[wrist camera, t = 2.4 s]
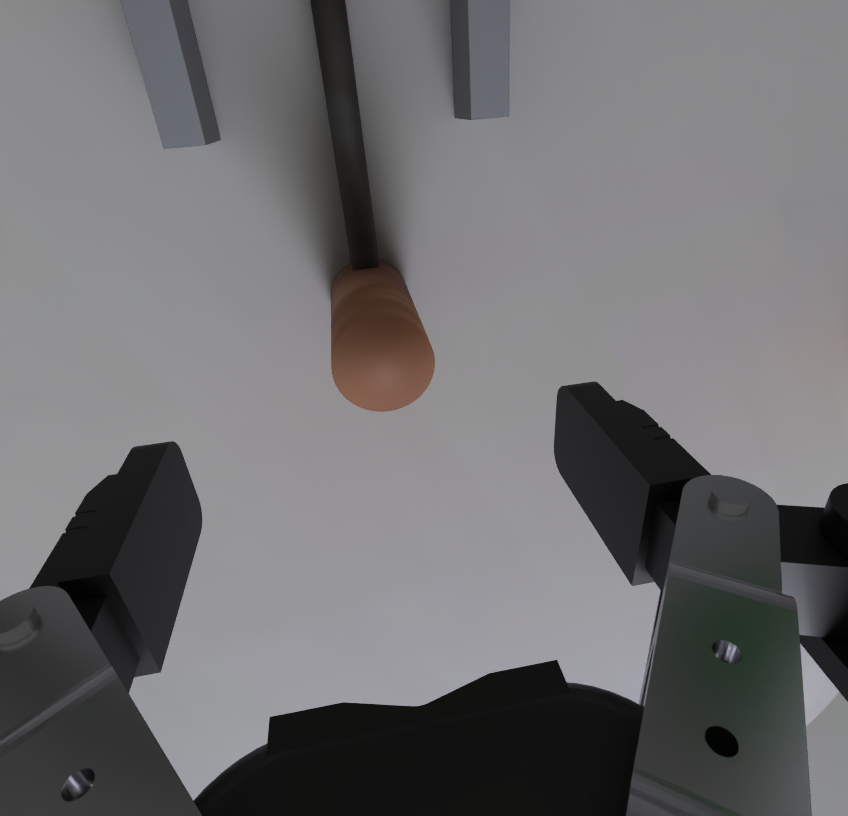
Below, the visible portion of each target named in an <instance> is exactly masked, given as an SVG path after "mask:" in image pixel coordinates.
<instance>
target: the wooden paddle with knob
mask: <svg viewBox="0 0 848 816" xmlns="http://www.w3.org/2000/svg"><path fill="white" fill-rule="evenodd" d="M310 1H311V7H312V13H313V20H314V26H315V33H316V39H317V46H318V52H319V58H320V65H321V71H322V78H323V84H324V91H325V97H326V103H327V110H328V116H329V123H330V129H331V136H332V142H333V148H334V155H335V161H336V168H337V174H338V181H339V187H340V193H341V200H342V206H343V213H344V219H345V226H346V232H347V238H348V245H349V251H350V258H351V263H350V264H348V265H347V266H345V267H344V268H343V269H342V270H341V271H340V272H339V273H338V275H337V276H336V278H335V280H334V282H333V285H332V290H331V367H332V375H333V379H334V382H335V384H336V386H337V388H338V389H339V391H340V392H341V393H342V395H343V396H344V397H345V398H346V399H347V400H349V401H350V402H352V403H353V404H355V405H357V406H358V407H361V408H364V409H367V410H371V411H391V410H396V409H399V408H402V407H404V406H407V405H409V404H410V403H412V402H413V401H415V400H416V399H417V398H419V397H420V396H421V395H422V394H423V392H424V391H425V390H426V389H427V387H428V385H429V384H430V381H431V379H432V376H433V373H434V367H435V359H434V353H433V350H432V347H431V344H430V342H429V339H428V337H427V335H426V332H425V330H424V327H423V325H422V323H421V320H420V318H419V315H418V313H417V310H416V308H415V306H414V303H413V301H412V298H411V296H410V294H409V291H408V289H407V286H406V284H405V282H404V280H403V278H402V276H401V274H400V273H399V272H398V271H397V270H396V269H395V268H394V267H393V266H391V265H390V264H388V263H386V262H384V261H382V260H379V259H378V251H377V243H376V236H375V228H374V220H373V213H372V205H371V197H370V189H369V182H368V174H367V166H366V158H365V151H364V143H363V135H362V127H361V120H360V112H359V104H358V96H357V89H356V81H355V73H354V66H353V58H352V50H351V42H350V35H349V27H348V19H347V11H346V4H345V0H310Z"/></svg>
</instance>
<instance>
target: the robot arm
mask: <svg viewBox="0 0 848 816" xmlns="http://www.w3.org/2000/svg"><path fill="white" fill-rule="evenodd" d="M554 454H555V460H556V464H557V467H558V470H559V472H560V474H561V476H562V477H563V479H564V481H565V482H566V484H567V485H568V487H569V488H570V490H571V491H572V493H573V495H574V496H575V498H576V499H577V501H578V502H579V504H580V506H581V507H582V509H583V510H584V512H585V513H586V515H587V516H588V518H589V520H590V521H591V523H592V524H593V526H594V527H595V529H596V530H597V532H598V534H599V535H600V537H601V538H602V540H603V541H604V543H605V545H606V546H607V548H608V549H609V551H610V552H611V554H612V555H613V557H614V559H615V560H616V562H617V563H618V565H619V566H620V568H621V570H622V571H623V573H624V574H625V576H626V577H627V579H628V580H629V582H630V584H631V585H632V586H634V585H640V584H645V583H650V582H655V583H656V584H657V586H658V587H659V589H660V590H661V591H660V596H659V601H658V606H657V611H656V616H655V621H654V627H653V632H652V637H651V642H650V648H649V653H648V658H647V664H646V669H645V674H644V679H643V684H642V689H641V694H640V699H639V704H637V703H635V702H633V701H631V700H629V699H627V698H625V697H623V696H620V695H618V694H615V693H613V692H610V691H607V690H604V689H600V688H597V687H593V686H588V685H583V684H577V683H566V681H565V678H564V676H563V673H562V671H561V669H560V666H559V664H558V661H557V660H554V661H549V662H544V663H539V664H534V665H529V666H524V667H519V668H514V669H509V670H504V671H499V672H494V673H489V674H487V675H485V676H483V677H481V678H479V679H477V680H475V681H473V682H471V683H469V684H467V685H465V686H463V687H461V688H458V689H456V690H454V691H452V692H450V693H448V694H446V695H444V696H442V697H440V698H438V699H436V700H434V701H432V702H430V703H428V704H425V705H422V706H395V705H377V704H360V703H339V704H334V705H329V706H324V707H319V708H314V709H309V710H304V711H299V712H294V713H289V714H284V715H278V716H273V717H270V721H269V732H268V744H266V745H263V746H261V747H259V748H257V749H256V750H254V751H252V752H251V753H249V754H247V755H246V756H244V757H243V758H241V759H239V760H238V761H237V762H235V763H234V764H233V765H231V766H230V767H229V768H227V769H226V770H225V771H224V772H222V773H221V774H220V775H219V776H218V777H217V778H216V779H215V780H213V781H212V782H211V783H210V784H209V785H208V786H207V787H206V788H205V789H204V790H203V791H202V792H201V793H200V794H199V795H198V797H197V798H196V799H195V800H194V801H193V800H192V798H191V796H190V795H189V793H188V791H187V790H186V788H185V786H184V785H183V783H182V781H181V780H180V778H179V776H178V775H177V773H176V771H175V770H174V768H173V766H172V765H171V763H170V762H169V760H168V758H167V757H166V755H165V753H164V752H163V750H162V748H161V747H160V745H159V743H158V742H157V740H156V738H155V737H154V735H153V733H152V732H151V730H150V728H149V727H148V725H147V723H146V722H145V720H144V718H143V717H142V715H141V713H140V712H139V710H138V708H137V707H136V705H135V703H134V702H133V700H132V699H131V697H130V695H129V691H130V688H131V685H132V681H133V678H134V677H138V676H143V675H148V674H154V673H159V672H161V669H162V665H163V662H164V659H165V655H166V652H167V648H168V645H169V641H170V638H171V634H172V631H173V627H174V624H175V620H176V617H177V613H178V610H179V606H180V603H181V599H182V596H183V592H184V589H185V585H186V582H187V578H188V575H189V571H190V568H191V564H192V561H193V557H194V554H195V550H196V547H197V544H198V540H199V537H200V533H201V528H202V512H201V506H200V502H199V499H198V496H197V493H196V490H195V488H194V485H193V482H192V479H191V477H190V474H189V471H188V468H187V466H186V463H185V460H184V457H183V455H182V452H181V450H180V448H179V446H178V445H177V443H176V442H173V441H172V442H165V443H158V444H151V445H144V446H137V447H133V448H132V449H131V451H130V452H129V454H128V456H127V458H126V459H125V461H124V463H123V465H122V467H121V468H120V470H119V472H118V474H115V475H108V476H107V477H106V478H105V479H104V480H102V481H101V482H100V483H99V484H98V485H97V486H95V487H94V488H93V489H92V490H91V491H90V492H88V493H87V495H86V496H85V498H84V499H83V501H82V503H81V504H80V506H79V508H78V509H77V511H76V513H75V514H76V516H75V517H73V518H72V519H71V521H70V523H69V524H68V526H67V527H66V529H65V530H66V533H63V534H62V536H61V537H60V539H59V541H58V542H57V544H56V546H55V547H54V549H53V551H52V552H51V554H50V555H49V557H48V559H47V560H46V562H45V564H44V565H43V567H42V569H41V570H40V572H39V574H38V575H37V577H36V579H35V580H34V582H33V583H32V585H31V587H30V588H29V589H27V590H24V591H21V592H18V593H16V594H13V595H11V596H9V597H7V598H5V599H3V600H1V601H0V816H812V810H811V794H810V780H809V767H808V751H807V737H806V723H805V709H804V694H803V680H802V666H801V651H800V643H801V645H802V646H803V647H804V648H805V650H806V651H807V652H808V653H809V654H810V656H811V657H812V658H813V659H814V661H815V662H816V663H817V664H818V666H819V667H820V668H821V669H822V671H823V672H824V673H825V674H826V675H827V677H828V678H829V679H830V680H831V682H832V683H833V684H834V685H835V687H836V688H837V689H838V690H839V692H840V693H841V694H842V695H843V696H844V698H845V699H846V700H847V701H848V483H847V484H842V485H840V486H837V487H836V488H834V489H833V490H832V492H831V493H830V496H829V498H828V501H827V503H826V506H825V508H819V507H803V506H786V505H776V503H775V502H774V500H773V499H772V498H771V497H770V496H769V495H768V494H767V493H766V492H764V491H763V490H762V489H760V488H758V487H757V486H755V485H753V484H751V483H748V482H746V481H743V480H740V479H737V478H733V477H728V476H722V475H711V474H710V473H709V472H708V471H707V470H706V469H705V468H704V467H703V466H701V465H700V464H699V463H698V462H697V461H696V460H695V459H694V458H693V457H692V456H691V455H690V454H689V453H688V452H687V451H686V450H685V449H684V448H683V447H682V446H681V445H680V444H678V443H677V442H676V441H675V440H674V439H671V438H670V435H669V434H668V433H667V432H666V431H665V430H664V429H663V428H662V427H659V426H658V423H657V422H655V421H654V420H653V419H652V418H651V417H650V416H649V415H648V414H647V413H646V412H645V411H644V410H642V409H640V408H638V407H636V406H634V405H632V404H630V403H628V402H625V401H623V400H620V401H615V400H614V399H613V398H612V397H611V396H610V395H609V394H608V393H607V391H606V390H605V389H604V388H603V387H602V386H601V385H600V384H598V383H597V382H588V383H581V384H574V385H567V386H562V387H560V388H559V390H558V394H557V405H556V422H555V438H554Z"/></svg>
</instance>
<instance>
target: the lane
mask: <svg viewBox="0 0 848 816" xmlns="http://www.w3.org/2000/svg"><path fill="white" fill-rule="evenodd" d="M121 4H122V7H123V11H124V14H125V17H126V21H127V24H128V28H129V31H130V35H131V38H132V42H133V45H134V48H135V52H136V55H137V59H138V62H139V66H140V69H141V72H142V76H143V79H144V83H145V86H146V90H147V93H148V97H149V100H150V103H151V107H152V110H153V114H154V117H155V121H156V124H157V127H158V131H159V134H160V138H161V141H162V145H163V148H164V149H168V148H179V147H190V146H200V145H207V144H210V143H213V142H216V141H219V140H221V139H220V135H219V131H218V127H217V122H216V118H215V114H214V110H213V106H212V102H211V98H210V93H209V89H208V85H207V81H206V77H205V73H204V68H203V64H202V60H201V56H200V52H199V48H198V43H197V39H196V35H195V31H194V27H193V23H192V19H191V14H190V10H189V6H188V2H187V0H121ZM450 6H451V30H452V54H453V78H454V102H455V118H459V119H467V120H477V119H487V118H498V117H508V116H509V25H510V0H450Z"/></svg>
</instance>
